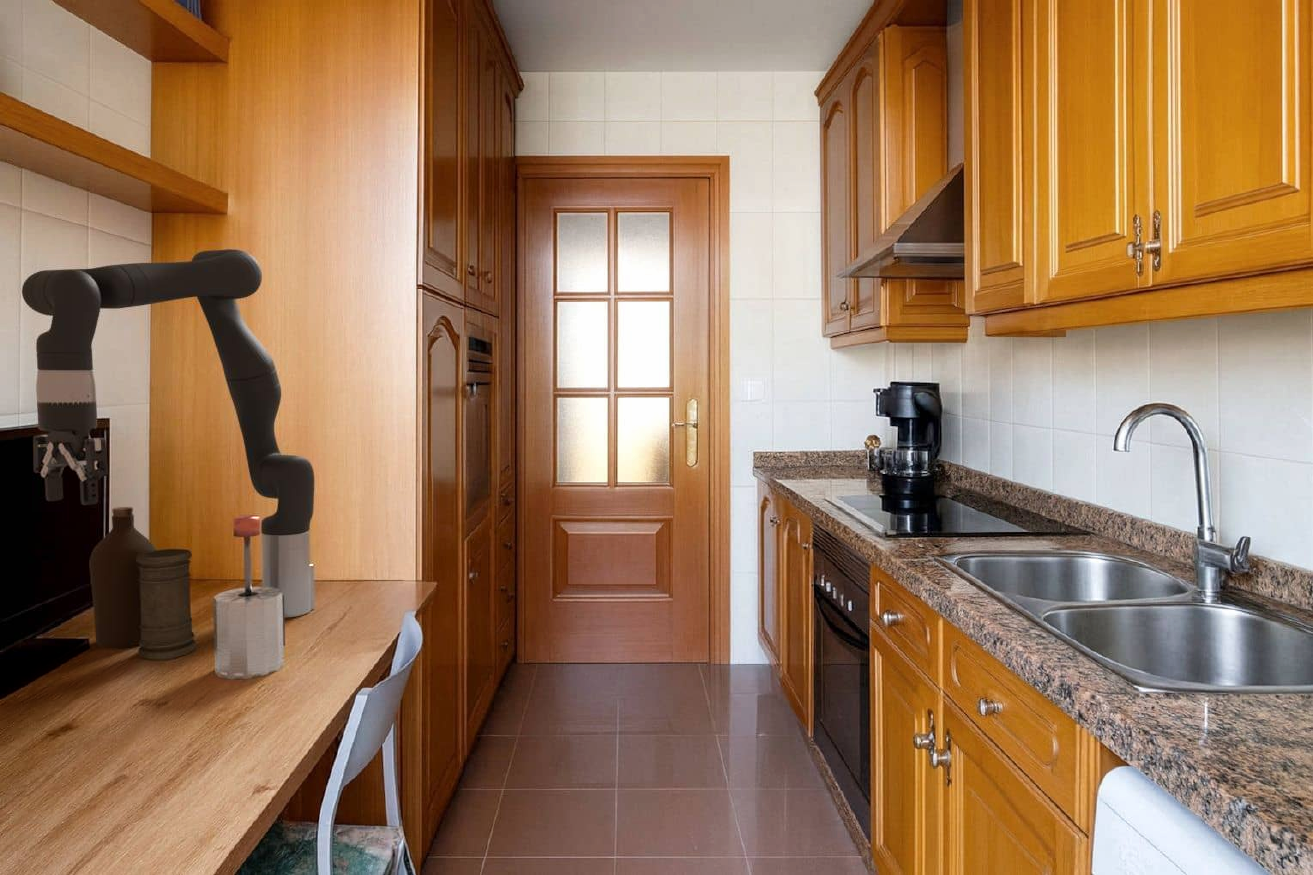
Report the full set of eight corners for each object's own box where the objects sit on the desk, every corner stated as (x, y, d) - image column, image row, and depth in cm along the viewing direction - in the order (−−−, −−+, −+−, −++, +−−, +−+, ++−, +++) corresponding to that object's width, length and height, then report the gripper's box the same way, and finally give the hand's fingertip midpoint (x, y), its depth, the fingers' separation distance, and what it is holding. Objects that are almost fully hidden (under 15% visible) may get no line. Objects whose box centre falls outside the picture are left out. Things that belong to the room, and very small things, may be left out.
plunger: (250, 608, 142) (248, 512, 141) (281, 613, 140) (280, 515, 138) (214, 619, 136) (212, 518, 134) (246, 624, 133) (244, 522, 132)
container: (169, 662, 141) (166, 560, 139) (125, 658, 142) (121, 556, 141) (207, 645, 149) (205, 549, 148) (165, 642, 151) (163, 546, 150)
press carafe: (260, 652, 146) (258, 582, 146) (303, 660, 143) (302, 588, 142) (201, 673, 136) (199, 598, 135) (246, 683, 132) (245, 605, 131)
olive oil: (87, 653, 144) (82, 514, 142) (97, 636, 154) (93, 505, 152) (156, 646, 149) (153, 510, 147) (163, 629, 158) (159, 502, 157)
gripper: (121, 400, 127) (125, 502, 129) (63, 397, 133) (67, 495, 134) (71, 401, 120) (76, 509, 122) (11, 399, 126) (17, 502, 127)
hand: (71, 502), depth 128 cm, fingers open, 8 cm apart
